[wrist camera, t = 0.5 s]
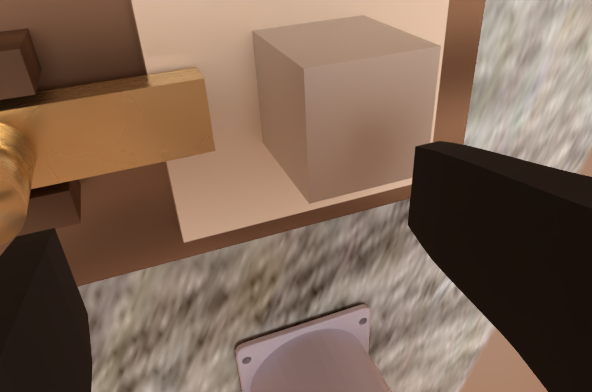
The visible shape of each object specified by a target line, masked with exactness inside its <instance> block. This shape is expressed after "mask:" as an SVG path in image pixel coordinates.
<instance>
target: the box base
mask: <svg viewBox="0 0 592 392" xmlns="http://www.w3.org/2000/svg"><path fill="white" fill-rule="evenodd" d="M484 6H485V0H449V7H448V15H447V24H446V33H445V41H444V50H443V59H442V67H441V76H440V85H439V93H438V102H437V111H436V119H435V128H434V137H433V142H437V141H445V142H451V143H457V144H462V145H463V144H464V137H465V131H466V124H467V118H468V111H469V104H470V98H471V91H472V85H473V78H474V72H475V65H476V59H477V52H478V46H479V39H480V33H481V26H482V20H483V13H484ZM143 75H146V73H145V68H144V63H143V59H142V54H141V50H140V45H139V41H138V36H137V31H136V27H135V22H134V18H133V13H132V9H131V4H130V0H0V100H3V99H9V98H16V97H22V96H29V95H35V94H36V92H40V91H47V90H53V89H59V88H66V87H72V86H79V85H85V84H92V83H98V82H104V81H111V80H117V79H124V78H130V77H137V76H143ZM411 186H412V184H411V185H407V186H403V187H400V188H396V189H392V190H388V191H384V192H380V193H376V194H372V195H368V196H364V197H361V198H357V199H353V200H349V201H345V202H341V203H337V204H333V205H329V206H325V207H321V208H318V209H314V210H310V211H306V212H302V213H298V214H294V215H290V216H286V217H282V218H279V219H275V220H271V221H267V222H263V223H259V224H255V225H251V226H247V227H243V228H239V229H236V230H232V231H228V232H224V233H220V234H216V235H212V236H208V237H204V238H200V239H197V240H193V241H189V242H185V243H184V241H183V238H182V235H181V231H180V228H179V223H178V219H177V214H176V210H175V205H174V201H173V196H172V191H171V187H170V182H169V178H168V173H167V169H166V164H165V162H160V163H155V164H150V165H146V166H141V167H136V168H131V169H126V170H121V171H116V172H112V173H107V174H102V175H97V176H92V177H87V178H83V179H78V180H73V181H68V182H63V183H58V184H54V185H49V186H44V187H39V188H34V189H31V191H30V197H29V203H28V208H27V214H26V219H25V223H24V225H23V227H22V229H21V231H20V232H19V233H18V234H17V235H16V236H21V235H25V234H30V233H34V232H38V231H43V230H47V229H52V228H55V230H56V232H57V235H58V238H59V240H60V243H61V246H62V248H63V251H64V253H65V256H66V259H67V261H68V264H69V267H70V269H71V272H72V274H73V277H74V280H75V282H76V285H77V286H81V285H85V284H89V283H92V282H96V281H100V280H104V279H107V278H111V277H115V276H119V275H123V274H126V273H130V272H134V271H138V270H141V269H145V268H149V267H153V266H157V265H160V264H164V263H168V262H172V261H175V260H179V259H183V258H187V257H190V256H194V255H198V254H202V253H206V252H209V251H213V250H217V249H221V248H224V247H228V246H232V245H236V244H240V243H243V242H247V241H251V240H255V239H258V238H262V237H266V236H270V235H273V234H277V233H281V232H285V231H289V230H292V229H296V228H300V227H304V226H307V225H311V224H315V223H319V222H323V221H326V220H330V219H334V218H338V217H341V216H345V215H349V214H353V213H356V212H360V211H364V210H368V209H372V208H375V207H379V206H383V205H387V204H390V203H394V202H398V201H402V200H406V199H409V198H410V196H411ZM16 236H15V237H16ZM15 237H14V238H13V239H11V240H10V241H8V242H6V243H4V244H2V245H0V256H1V254H2V253H3V252H4V250H5V249H6V248H7V247H8V246H9V244H10V243H11V242H12V241H13V240H14V239H15Z"/></svg>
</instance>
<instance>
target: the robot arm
mask: <svg viewBox="0 0 592 392" xmlns="http://www.w3.org/2000/svg"><path fill="white" fill-rule="evenodd" d="M408 226H409V227H410V229H411V230H412V232H413V233H414V235H415V236H416V238H417V239H418V241H419V242H420V244H421V245H422V246H423V248H424V249H425V251H426V252H427V253H428V255H429V256H430V257H431V259H432V260H433V261H434V262H435V263H436V264H437V266H438V267H439V268H440V269H441V270H442V271H443V272H444V273H445V274H446V275H447V276H448V278H449V279H450V280H451V281H452V282H453V283H454V284H455V285H456V286H457V287H458V288H459V289H460V290H461V291H462V292H463V293H464V295H465V296H466V297H467V298H468V299H469V300H470V301H471V302H472V303H473V304H474V305H475V306H476V307H477V308H478V309H479V310H480V311H481V312H482V313H483V315H484V316H485V317H486V318H487V319H488V320H489V321H490V322H491V323H492V324H493V325H494V326H495V327H496V328H497V329H498V330H499V331H500V332H501V333H502V335H503V336H504V337H505V338H506V339H507V340H508V342H510V344H511V345H512V346H513V347H514V348H515V350H516V351H517V352H518V353H519V354H520V356H521V357H522V358H523V360H524V361H525V362H526V363H527V365H528V366H529V367H530V369H531V370H532V371H533V373H534V374H535V375H536V376H537V378H538V379H539V380H540V382H541V383H542V384H543V386H544V387H545V388H546V389H547V391H548V392H592V177H589V176H585V175H580V174H576V173H571V172H567V171H563V170H559V169H555V168H551V167H547V166H544V165H540V164H536V163H532V162H528V161H524V160H521V159H517V158H513V157H510V156H506V155H502V154H498V153H494V152H491V151H487V150H483V149H479V148H475V147H471V146H466V145H462V144H457V143H451V142H445V141H437V142H432V143H428V144H423V145H419V146H415V155H414V165H413V176H412V186H411V196H410V207H409V217H408ZM369 333H370V309H369V308H368V306H367V305H364V304H362V305H358V306H355V307H352V308H349V309H346V310H343V311H340V312H337V313H334V314H330V315H327V316H324V317H321V318H318V319H315V320H312V321H309V322H306V323H303V324H300V325H297V326H294V327H290V328H287V329H284V330H281V331H278V332H275V333H272V334H269V335H266V336H263V337H260V338H257V339H254V340H251V341H247V342H244V343H242V344H240V345H239V346H237V348H236V349H235V354H236V360H237V366H238V372H239V378H240V384H241V389H242V392H392V391H391V390H390V388H389V387H388V385H387V384H386V382H385V380H384V379H383V377H382V376H381V374H380V373H379V371H378V369H377V368H376V366H375V365H374V363H373V362H372V360H371V358H370V357H369V355H368V353H369ZM245 357H246V358H245ZM91 383H92V356H91V344H90V334H89V324H88V314H87V311H86V308H85V306H84V303H83V301H82V298H81V295H80V293H79V290H78V287H77V285H76V282H75V280H74V277H73V274H72V272H71V269H70V267H69V264H68V261H67V259H66V256H65V253H64V251H63V248H62V246H61V243H60V240H59V238H58V235H57V232H56V230H55V228H52V229H47V230H43V231H38V232H34V233H30V234H25V235H21V236H16V237H15V239H14V240H13V241H12V242H11V243H10V244H9V246H8V247H7V248H6V249H5V250H4V252H3V253H2V254H1V256H0V392H91Z"/></svg>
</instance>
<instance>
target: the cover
mask: <svg viewBox="0 0 592 392" xmlns="http://www.w3.org/2000/svg"><path fill="white" fill-rule="evenodd" d="M130 4H131V9H132V13H133V18H134V22H135V27H136V31H137V36H138V41H139V45H140V50H141V54H142V59H143V63H144V68H145V73H146V75H149V74H156V73H162V72H169V71H175V70H182V69H188V68H194V67H197V69H198V70H199V71H200V73H201V74H202V76H203V77H204V80H205V86H206V93H207V99H208V106H209V112H210V119H211V125H212V132H213V138H214V145H215V151H213V152H208V153H204V154H199V155H194V156H189V157H184V158H179V159H175V160H170V161H165V164H166V169H167V173H168V178H169V182H170V187H171V191H172V196H173V201H174V205H175V210H176V214H177V219H178V223H179V228H180V231H181V235H182V238H183V241H184V243H185V242H189V241H193V240H197V239H200V238H204V237H208V236H212V235H216V234H220V233H224V232H228V231H232V230H236V229H239V228H243V227H247V226H251V225H255V224H259V223H263V222H267V221H271V220H275V219H279V218H282V217H286V216H290V215H294V214H298V213H302V212H306V211H310V210H314V209H318V208H321V207H325V206H329V205H333V204H337V203H341V202H345V201H349V200H353V199H357V198H361V197H364V196H368V195H372V194H376V193H380V192H384V191H388V190H392V189H396V188H400V187H403V186H407V185H411V184H412V176H413V165H414V155H415V146H419V145H423V144H428V143H432V142H433V137H434V128H435V119H436V111H437V102H438V93H439V85H440V76H441V67H442V59H443V50H444V41H445V33H446V24H447V15H448V7H449V0H130Z"/></svg>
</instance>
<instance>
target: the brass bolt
mask: <svg viewBox="0 0 592 392" xmlns="http://www.w3.org/2000/svg"><path fill="white" fill-rule="evenodd" d="M213 151H215V145H214V138H213V132H212V125H211V119H210V112H209V106H208V99H207V93H206V86H205V80H204V77H203V76H202V74H201V73H200V71H199V70H198V69H197V67H194V68H188V69H182V70H175V71H169V72H162V73H156V74H149V75H143V76H137V77H130V78H124V79H117V80H111V81H104V82H98V83H92V84H85V85H79V86H72V87H66V88H59V89H53V90H47V91H40V92H36V94H35V95H29V96H22V97H16V98H9V99H3V100H0V245H2V244H4V243H6V242H8V241H10V240H11V239H13V238H14V237H15V236H16V235H17V234H18V233H19V232H20V231H21V229H22V227H23V225H24V223H25V219H26V214H27V208H28V203H29V197H30V191H31V189H34V188H39V187H44V186H49V185H54V184H58V183H63V182H68V181H73V180H78V179H83V178H87V177H92V176H97V175H102V174H107V173H112V172H116V171H121V170H126V169H131V168H136V167H141V166H146V165H150V164H155V163H160V162H165V161H170V160H175V159H179V158H184V157H189V156H194V155H199V154H204V153H208V152H213Z"/></svg>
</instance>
